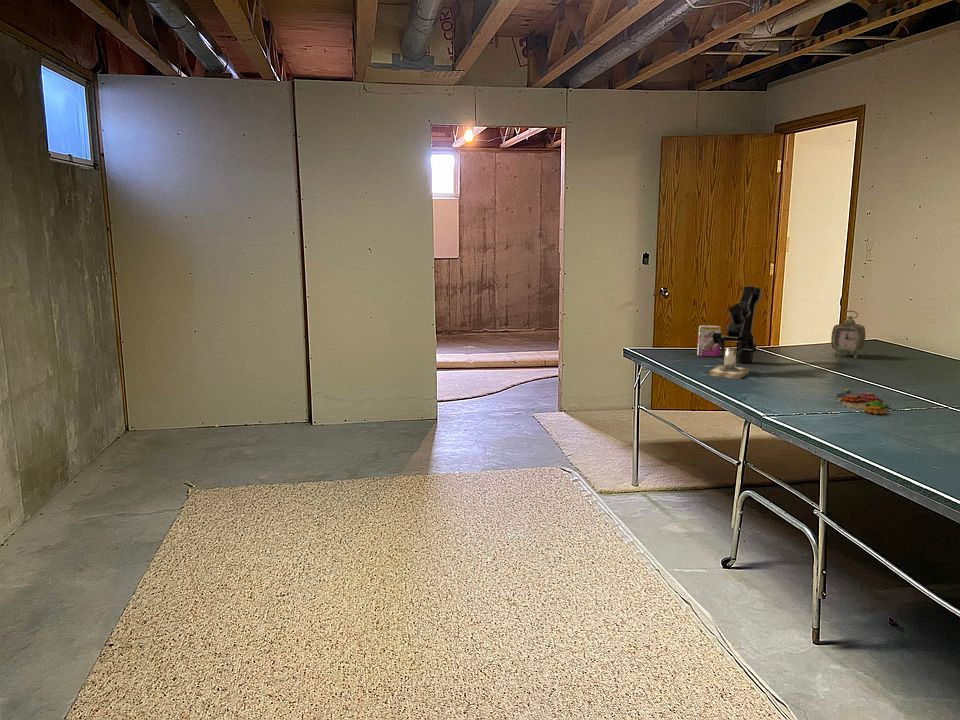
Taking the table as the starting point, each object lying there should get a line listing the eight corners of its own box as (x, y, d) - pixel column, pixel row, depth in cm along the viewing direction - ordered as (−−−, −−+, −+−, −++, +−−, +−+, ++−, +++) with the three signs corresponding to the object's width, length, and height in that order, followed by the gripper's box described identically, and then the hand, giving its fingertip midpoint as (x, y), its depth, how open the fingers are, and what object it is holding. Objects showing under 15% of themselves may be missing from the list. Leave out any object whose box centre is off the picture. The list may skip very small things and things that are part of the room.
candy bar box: (698, 356, 376) (700, 326, 373) (696, 355, 381) (698, 325, 378) (719, 356, 375) (721, 326, 372) (717, 355, 380) (719, 325, 377)
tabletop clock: (829, 356, 377) (833, 310, 372) (836, 353, 383) (840, 308, 378) (858, 359, 366) (862, 312, 362) (864, 357, 372) (869, 311, 368)
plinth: (748, 372, 335) (748, 367, 334) (739, 379, 320) (740, 373, 320) (718, 369, 342) (719, 364, 342) (708, 375, 328) (709, 370, 327)
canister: (727, 367, 334) (728, 346, 332) (736, 368, 331) (738, 348, 329) (721, 368, 331) (723, 348, 329) (731, 370, 327) (732, 349, 326)
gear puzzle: (898, 418, 256) (899, 407, 255) (850, 415, 260) (851, 404, 259) (874, 398, 285) (875, 388, 284) (831, 396, 289) (832, 386, 289)
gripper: (714, 316, 335) (706, 341, 327) (755, 318, 324) (748, 345, 317) (717, 330, 342) (710, 355, 335) (757, 333, 332) (750, 359, 325)
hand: (729, 353), depth 328 cm, fingers open, 6 cm apart
